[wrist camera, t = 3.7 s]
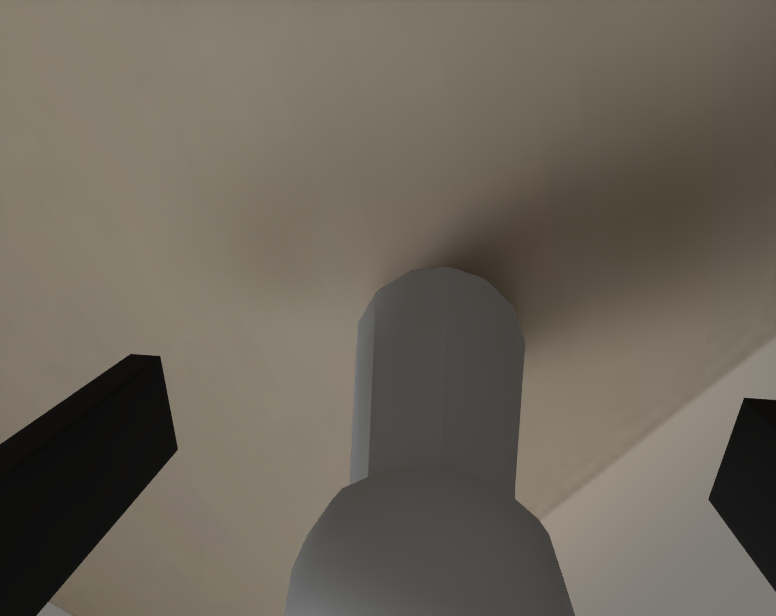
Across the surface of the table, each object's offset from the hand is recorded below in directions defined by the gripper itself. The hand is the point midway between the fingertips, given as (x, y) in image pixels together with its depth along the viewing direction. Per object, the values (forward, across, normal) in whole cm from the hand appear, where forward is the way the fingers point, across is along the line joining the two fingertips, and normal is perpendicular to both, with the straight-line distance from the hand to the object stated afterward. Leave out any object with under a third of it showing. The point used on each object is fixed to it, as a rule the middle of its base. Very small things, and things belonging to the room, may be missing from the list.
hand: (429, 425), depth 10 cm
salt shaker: (+8, 0, -1) cm, 8 cm away
